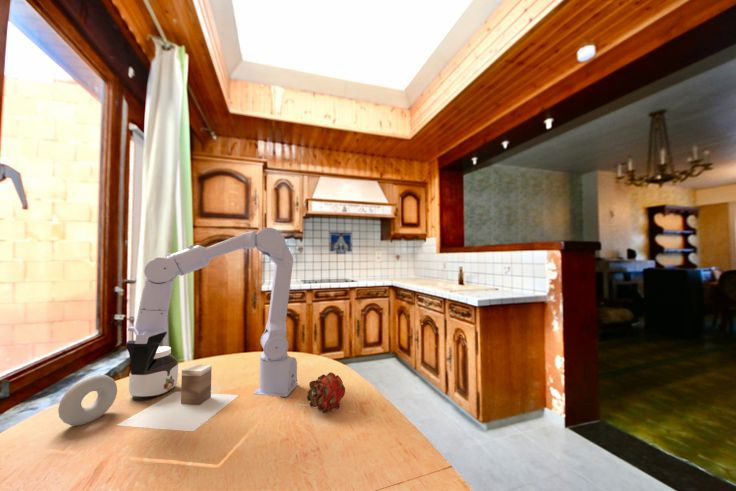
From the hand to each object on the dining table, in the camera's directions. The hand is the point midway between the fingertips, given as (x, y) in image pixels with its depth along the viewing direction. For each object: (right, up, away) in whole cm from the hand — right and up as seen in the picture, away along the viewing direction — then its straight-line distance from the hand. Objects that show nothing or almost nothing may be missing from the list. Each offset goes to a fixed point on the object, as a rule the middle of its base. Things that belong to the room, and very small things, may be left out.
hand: (142, 368), depth 66 cm
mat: (+9, -11, +1) cm, 14 cm away
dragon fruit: (+42, -11, +3) cm, 44 cm away
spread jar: (-6, -12, +11) cm, 17 cm away
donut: (-9, -11, -3) cm, 14 cm away
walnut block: (+9, -10, +5) cm, 15 cm away
